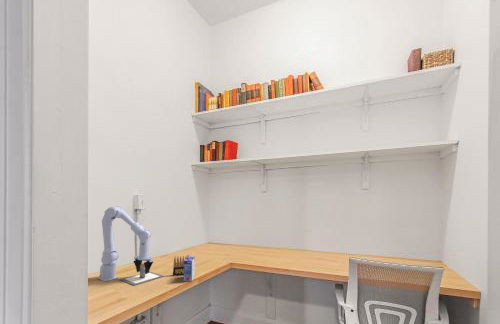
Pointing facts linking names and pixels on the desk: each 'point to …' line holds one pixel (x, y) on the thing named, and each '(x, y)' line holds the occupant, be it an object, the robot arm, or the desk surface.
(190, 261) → the blue drink carton
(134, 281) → the writing mat
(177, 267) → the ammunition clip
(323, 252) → the desk surface
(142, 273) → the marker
